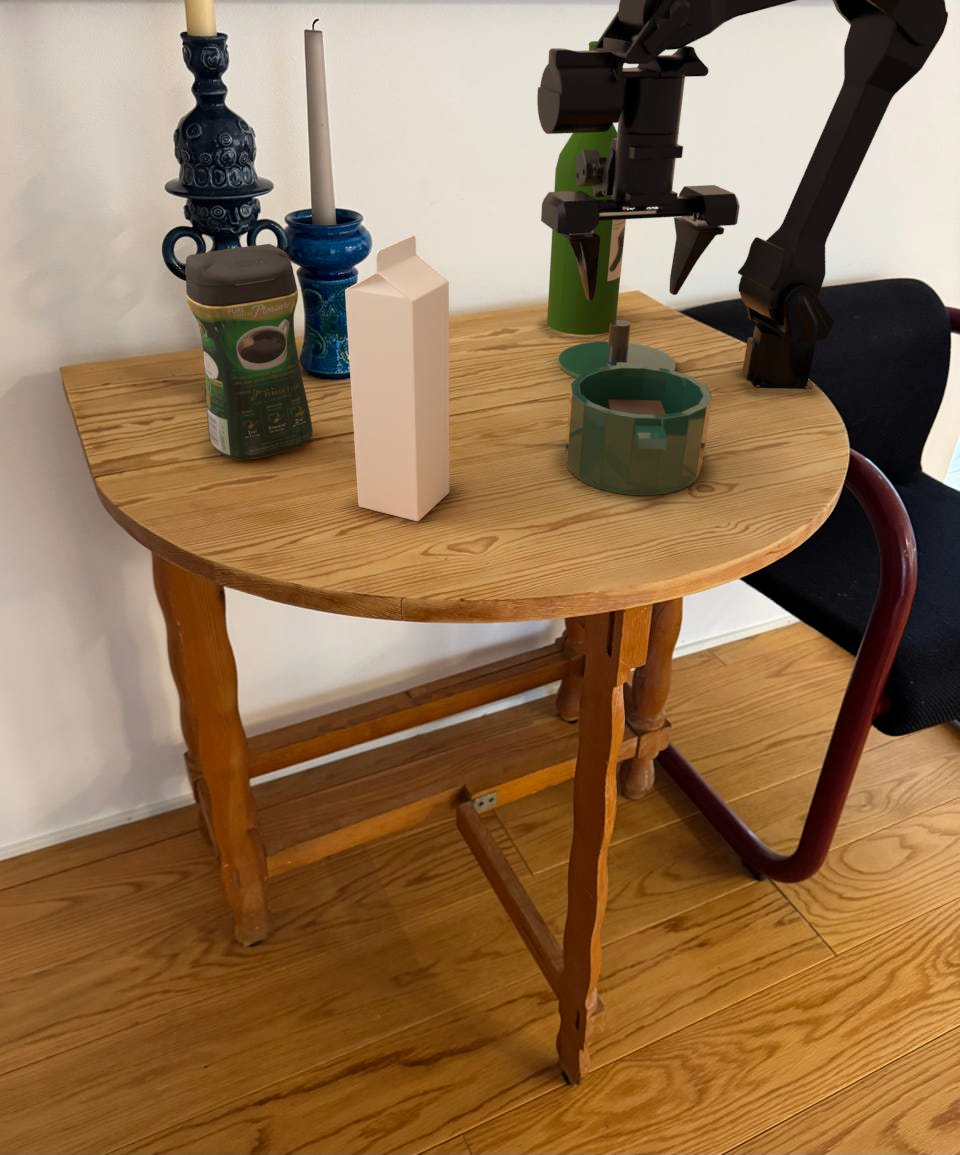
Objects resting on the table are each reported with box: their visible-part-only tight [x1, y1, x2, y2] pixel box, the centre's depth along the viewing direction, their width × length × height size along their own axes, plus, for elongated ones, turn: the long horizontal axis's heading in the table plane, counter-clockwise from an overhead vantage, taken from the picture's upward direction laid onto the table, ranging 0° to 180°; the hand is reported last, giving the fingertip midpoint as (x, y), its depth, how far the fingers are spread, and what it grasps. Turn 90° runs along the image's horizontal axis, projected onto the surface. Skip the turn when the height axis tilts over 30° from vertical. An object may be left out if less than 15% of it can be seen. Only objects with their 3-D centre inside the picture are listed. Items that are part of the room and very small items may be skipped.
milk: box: [344, 235, 450, 522], centre depth 78 cm, size 6×6×22 cm
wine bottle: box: [546, 40, 628, 336], centre depth 115 cm, size 9×9×32 cm
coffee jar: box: [184, 243, 314, 461], centre depth 88 cm, size 10×8×19 cm
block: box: [607, 400, 666, 415], centre depth 89 cm, size 5×5×5 cm
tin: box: [565, 362, 713, 497], centre depth 88 cm, size 13×18×8 cm
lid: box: [557, 319, 677, 379], centre depth 110 cm, size 14×14×6 cm
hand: (631, 296), depth 97 cm, fingers open, 9 cm apart
